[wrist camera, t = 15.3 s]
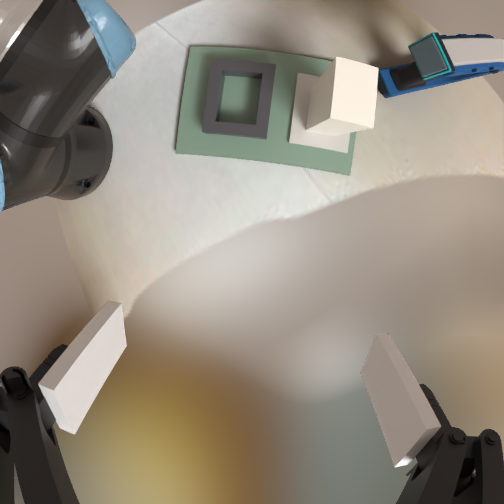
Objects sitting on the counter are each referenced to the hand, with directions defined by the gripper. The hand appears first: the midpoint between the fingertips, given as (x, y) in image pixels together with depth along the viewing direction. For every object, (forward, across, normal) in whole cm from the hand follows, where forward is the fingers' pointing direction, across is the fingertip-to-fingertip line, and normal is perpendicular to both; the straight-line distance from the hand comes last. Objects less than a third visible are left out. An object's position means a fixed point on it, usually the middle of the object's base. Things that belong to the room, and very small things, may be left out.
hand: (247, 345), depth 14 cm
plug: (+27, +7, +16) cm, 32 cm away
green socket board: (+29, 0, +16) cm, 33 cm away
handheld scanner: (+29, +20, +25) cm, 43 cm away
